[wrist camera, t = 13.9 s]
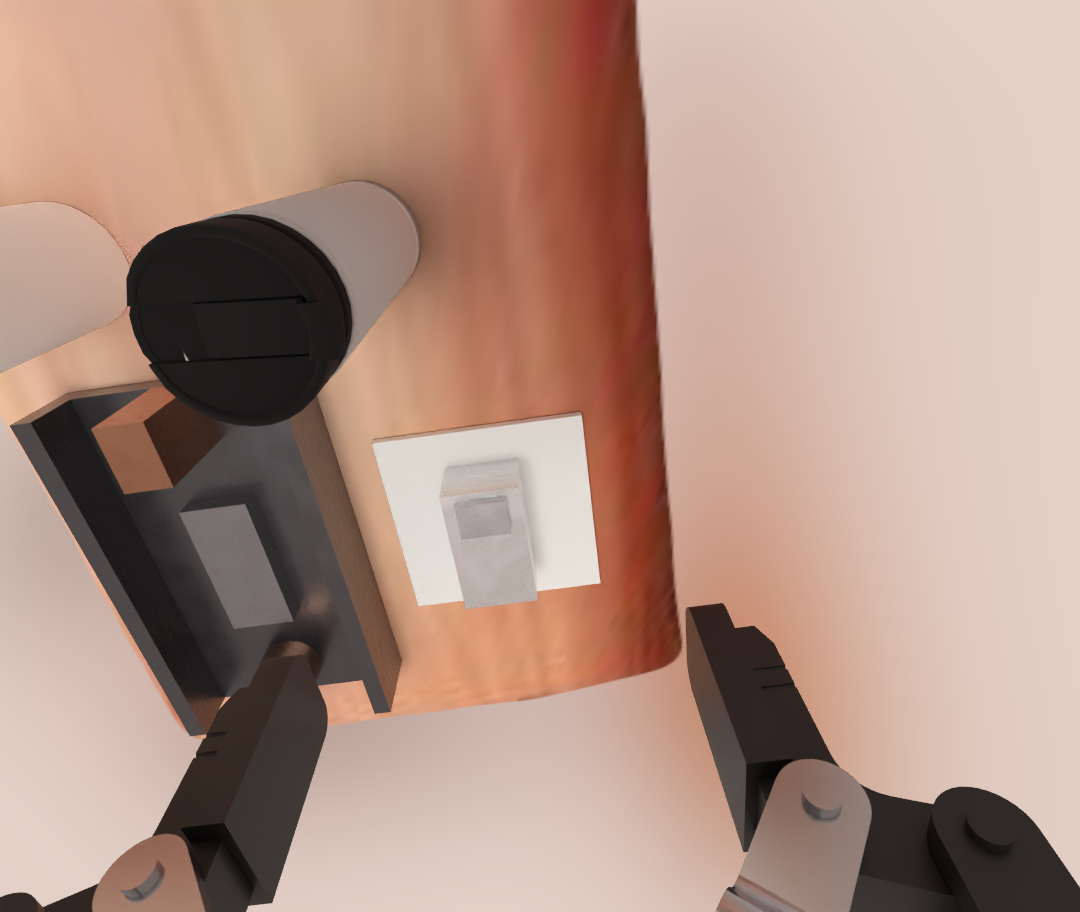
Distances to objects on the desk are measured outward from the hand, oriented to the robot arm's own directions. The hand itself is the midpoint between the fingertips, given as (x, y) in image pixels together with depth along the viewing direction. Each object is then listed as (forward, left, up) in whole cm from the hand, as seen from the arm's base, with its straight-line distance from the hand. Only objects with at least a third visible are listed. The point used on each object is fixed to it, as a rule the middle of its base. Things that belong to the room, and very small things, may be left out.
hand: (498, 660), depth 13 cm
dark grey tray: (-3, -25, -28) cm, 38 cm away
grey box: (+8, -12, -28) cm, 31 cm away
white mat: (+8, -12, -28) cm, 32 cm away
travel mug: (-9, -2, -28) cm, 30 cm away
